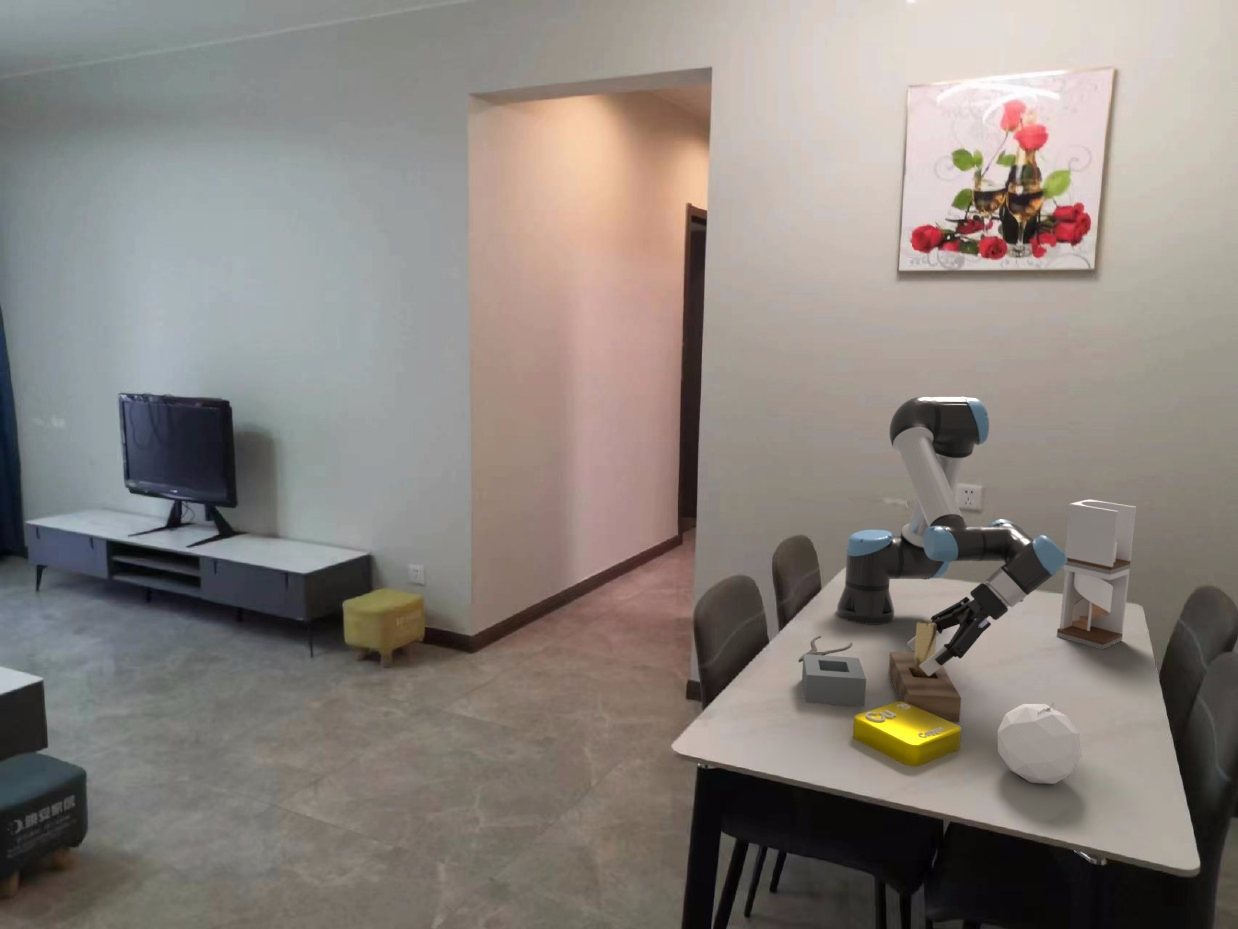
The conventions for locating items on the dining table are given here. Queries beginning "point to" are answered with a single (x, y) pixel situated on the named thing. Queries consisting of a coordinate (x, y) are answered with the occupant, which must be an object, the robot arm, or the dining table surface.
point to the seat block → (833, 680)
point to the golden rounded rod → (924, 646)
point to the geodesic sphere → (1039, 743)
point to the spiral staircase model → (1096, 572)
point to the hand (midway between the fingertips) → (917, 659)
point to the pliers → (814, 651)
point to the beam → (924, 688)
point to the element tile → (907, 733)
